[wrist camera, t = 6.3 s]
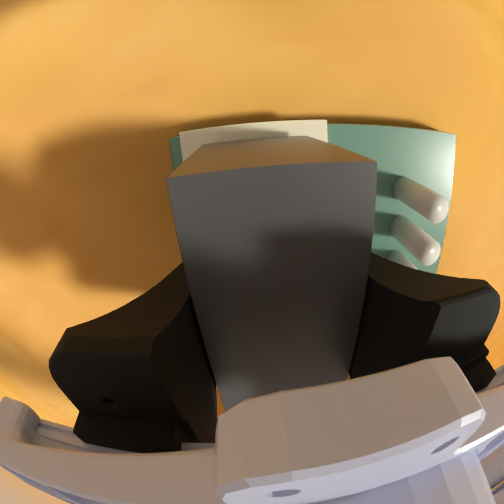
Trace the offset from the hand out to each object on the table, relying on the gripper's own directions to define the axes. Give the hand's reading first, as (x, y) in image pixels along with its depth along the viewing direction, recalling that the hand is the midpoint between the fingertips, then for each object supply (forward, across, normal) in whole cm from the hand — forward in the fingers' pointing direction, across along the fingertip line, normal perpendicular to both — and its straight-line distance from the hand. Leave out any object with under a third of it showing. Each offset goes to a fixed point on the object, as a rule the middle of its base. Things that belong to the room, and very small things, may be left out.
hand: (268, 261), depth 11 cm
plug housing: (+1, 0, 0) cm, 1 cm away
